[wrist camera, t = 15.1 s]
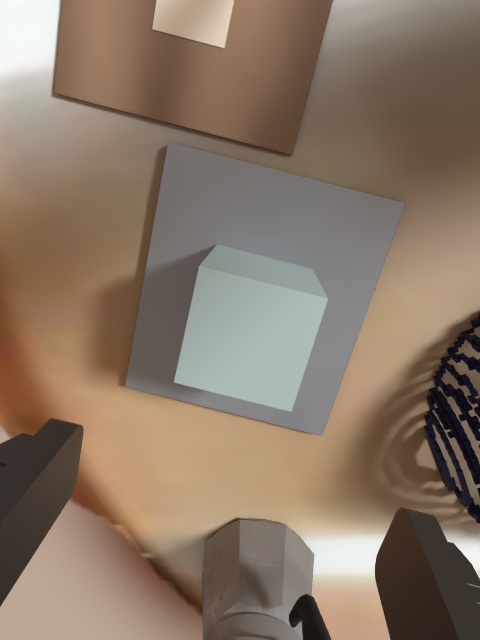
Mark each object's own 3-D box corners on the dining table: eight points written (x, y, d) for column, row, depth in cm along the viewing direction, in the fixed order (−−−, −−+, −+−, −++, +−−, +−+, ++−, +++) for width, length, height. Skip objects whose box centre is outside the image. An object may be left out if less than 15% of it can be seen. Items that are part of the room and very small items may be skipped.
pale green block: (312, 268, 26) (328, 298, 19) (286, 356, 28) (291, 411, 21) (217, 244, 26) (199, 265, 19) (196, 334, 28) (173, 382, 21)
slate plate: (401, 202, 25) (405, 203, 24) (320, 429, 30) (322, 436, 29) (171, 142, 25) (168, 141, 24) (128, 381, 30) (124, 386, 29)
